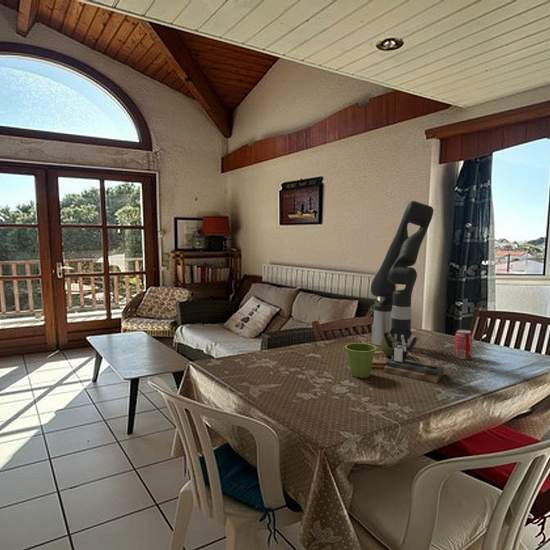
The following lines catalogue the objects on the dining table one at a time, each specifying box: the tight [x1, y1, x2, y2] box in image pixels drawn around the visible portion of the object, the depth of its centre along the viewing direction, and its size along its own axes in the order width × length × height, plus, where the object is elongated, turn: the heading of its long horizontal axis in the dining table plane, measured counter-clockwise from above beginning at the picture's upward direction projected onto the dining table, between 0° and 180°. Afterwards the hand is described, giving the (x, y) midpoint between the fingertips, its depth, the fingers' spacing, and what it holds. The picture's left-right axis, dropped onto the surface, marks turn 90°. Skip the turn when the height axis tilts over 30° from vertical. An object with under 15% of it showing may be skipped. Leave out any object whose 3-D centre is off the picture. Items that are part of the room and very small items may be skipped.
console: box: [383, 357, 446, 384], centre depth 155 cm, size 20×12×4 cm, turn 53°
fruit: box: [379, 335, 402, 357], centre depth 176 cm, size 12×12×10 cm
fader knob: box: [394, 346, 404, 363], centre depth 159 cm, size 3×5×7 cm, turn 143°
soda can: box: [453, 329, 473, 360], centre depth 175 cm, size 7×7×12 cm
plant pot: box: [344, 342, 377, 379], centre depth 153 cm, size 12×12×11 cm
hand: (399, 358), depth 159 cm, fingers closed on fader knob, 3 cm apart
